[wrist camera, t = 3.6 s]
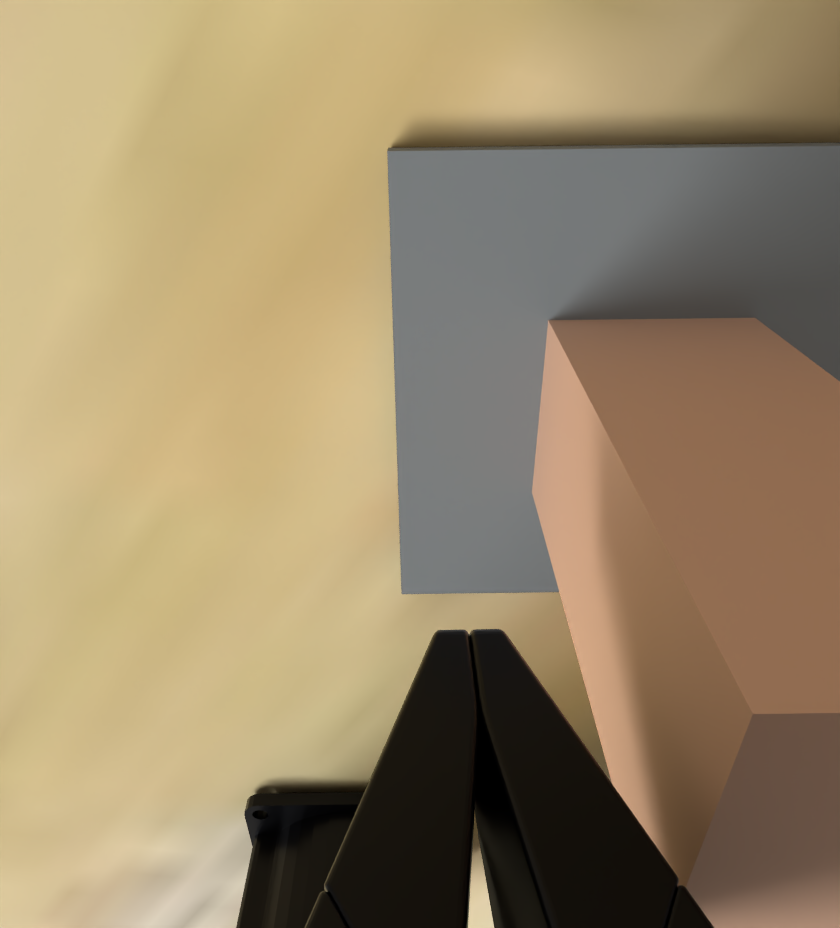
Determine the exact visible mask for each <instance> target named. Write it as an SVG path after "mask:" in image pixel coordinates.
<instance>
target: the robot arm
mask: <svg viewBox="0 0 840 928" xmlns="http://www.w3.org/2000/svg"><path fill="white" fill-rule="evenodd" d="M474 810H475V815H476V822H477V829H478V836H479V842H480V848H481V853H482V859H483V865H484V870H485V876H486V882H487V888H488V893H489V899H490V905H491V911H492V916H493V922H494V928H714V927H713V925H712V924H711V922H710V921H709V920H708V918H707V917H706V915H705V914H704V913H703V911H702V910H701V908H700V907H699V905H698V904H697V903H696V901H695V900H694V898H693V897H692V895H691V894H690V893H689V891H688V890H687V888H686V887H685V886H683V885H679V886H678V883H679V879H678V876H677V875H676V873H675V872H674V871H673V869H672V868H671V866H670V865H669V864H668V862H667V861H666V859H665V858H664V856H663V855H662V854H661V852H660V851H659V849H658V848H657V847H656V845H655V844H654V842H653V841H652V840H651V838H650V837H649V835H648V834H647V832H646V831H645V830H644V828H643V827H642V825H641V824H640V823H639V821H638V820H637V818H636V817H635V816H634V814H633V813H632V811H631V810H630V808H629V807H628V806H627V804H626V803H625V801H624V800H623V799H622V797H621V796H620V794H619V793H618V792H617V790H616V789H615V787H614V786H613V784H612V783H611V782H610V780H609V779H608V777H607V776H606V775H605V773H604V772H603V770H602V769H601V768H600V766H599V765H598V763H597V762H596V760H595V759H594V758H593V756H592V755H591V753H590V752H589V751H588V749H587V748H586V746H585V745H584V744H583V742H582V741H581V739H580V738H579V736H578V735H577V734H576V732H575V731H574V729H573V728H572V727H571V725H570V724H569V722H568V721H567V720H566V718H565V717H564V715H563V714H562V712H561V711H560V710H559V708H558V707H557V705H556V704H555V703H554V701H553V700H552V698H551V697H550V695H549V694H548V693H547V691H546V690H545V688H544V687H543V686H542V684H541V683H540V681H539V680H538V679H537V677H536V676H535V674H534V673H533V671H532V670H531V669H530V667H529V666H528V664H527V663H526V662H525V660H524V659H523V657H522V656H521V655H520V653H519V652H518V650H517V649H516V647H515V646H514V645H513V643H512V642H511V640H510V639H509V638H508V636H507V635H506V634H505V632H503V631H502V630H500V629H481V630H473V631H471V632H470V634H468V632H467V631H465V630H438V631H437V632H435V634H434V635H433V637H432V639H431V642H430V644H429V646H428V648H427V651H426V653H425V655H424V658H423V660H422V662H421V664H420V667H419V669H418V671H417V674H416V676H415V678H414V680H413V683H412V685H411V687H410V690H409V692H408V694H407V696H406V699H405V701H404V703H403V705H402V708H401V710H400V712H399V715H398V717H397V719H396V721H395V724H394V726H393V728H392V731H391V733H390V735H389V737H388V740H387V742H386V744H385V747H384V749H383V751H382V753H381V756H380V758H379V760H378V762H377V765H376V767H375V769H374V772H373V774H372V776H371V778H370V781H369V783H368V785H367V788H366V790H365V792H351V793H281V794H255V795H253V796H250V797H249V799H248V800H247V804H246V809H245V819H246V823H247V826H248V830H249V834H250V838H251V842H252V846H253V848H252V853H251V858H250V863H249V868H248V873H247V878H246V883H245V888H244V893H243V897H242V902H241V907H240V912H239V917H238V922H237V927H236V928H468V917H469V899H470V882H471V865H472V847H473V829H474ZM677 886H678V887H677Z"/></svg>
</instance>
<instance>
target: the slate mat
mask: <svg viewBox="0 0 840 928" xmlns="http://www.w3.org/2000/svg"><path fill="white" fill-rule="evenodd" d="M387 152H388V183H389V214H390V246H391V277H392V308H393V339H394V370H395V402H396V433H397V464H398V495H399V526H400V558H401V589H402V594H444V593H519V592H559V589H558V585H557V582H556V578H555V574H554V571H553V567H552V563H551V560H550V556H549V553H548V549H547V545H546V542H545V538H544V534H543V531H542V527H541V523H540V520H539V516H538V513H537V509H536V505H535V502H534V498H533V494H532V486H533V475H534V465H535V454H536V444H537V433H538V423H539V412H540V402H541V391H542V381H543V370H544V360H545V349H546V339H547V328H548V320H610V319H692V318H756V319H757V320H759V321H760V322H761V323H763V324H764V325H765V326H767V327H768V328H769V329H771V330H772V331H773V332H775V333H776V334H777V335H779V336H780V337H781V338H783V339H784V340H785V341H787V342H788V343H789V344H791V345H792V346H793V347H795V348H796V349H797V350H799V351H800V352H801V353H802V354H804V355H805V356H806V357H808V358H809V359H810V360H812V361H813V362H814V363H816V364H817V365H818V366H820V367H821V368H822V369H824V370H825V371H826V372H828V373H829V374H830V375H832V376H833V377H834V378H836V379H837V380H838V381H840V143H763V144H676V145H590V146H503V147H417V148H388V151H387Z"/></svg>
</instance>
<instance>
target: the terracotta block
mask: <svg viewBox="0 0 840 928" xmlns="http://www.w3.org/2000/svg"><path fill="white" fill-rule="evenodd" d="M532 494H533V498H534V502H535V505H536V509H537V513H538V516H539V520H540V523H541V527H542V531H543V534H544V538H545V542H546V545H547V549H548V553H549V556H550V560H551V563H552V567H553V571H554V574H555V578H556V582H557V585H558V589H559V593H560V596H561V600H562V603H563V607H564V611H565V614H566V618H567V622H568V625H569V629H570V633H571V636H572V640H573V643H574V647H575V651H576V654H577V658H578V662H579V665H580V669H581V673H582V676H583V680H584V683H585V687H586V691H587V694H588V698H589V702H590V705H591V709H592V713H593V716H594V720H595V723H596V727H597V731H598V734H599V738H600V742H601V745H602V749H603V753H604V756H605V760H606V763H607V767H608V771H609V774H610V778H611V782H612V784H613V786H614V787H615V789H616V790H617V792H618V793H619V794H620V796H621V797H622V799H623V800H624V801H625V803H626V804H627V806H628V807H629V808H630V810H631V811H632V813H633V814H634V816H635V817H636V818H637V820H638V821H639V823H640V824H641V825H642V827H643V828H644V830H645V831H646V832H647V834H648V835H649V837H650V838H651V840H652V841H653V842H654V844H655V845H656V847H657V848H658V849H659V851H660V852H661V854H662V855H663V856H664V858H665V859H666V861H667V862H668V864H669V865H670V866H671V868H672V869H673V871H674V872H675V873H676V875H677V876H678V879H679V883H678V886H679V885H683V886H685V887H686V888H687V890H688V891H689V893H690V894H691V895H692V897H693V898H694V900H695V901H696V903H697V904H698V905H699V907H700V908H701V910H702V911H703V913H704V914H705V915H706V917H707V918H708V920H709V921H710V922H711V924H712V925H713V927H714V928H840V381H838V380H837V379H836V378H834V377H833V376H832V375H830V374H829V373H828V372H826V371H825V370H824V369H822V368H821V367H820V366H818V365H817V364H816V363H814V362H813V361H812V360H810V359H809V358H808V357H806V356H805V355H804V354H802V353H801V352H800V351H799V350H797V349H796V348H795V347H793V346H792V345H791V344H789V343H788V342H787V341H785V340H784V339H783V338H781V337H780V336H779V335H777V334H776V333H775V332H773V331H772V330H771V329H769V328H768V327H767V326H765V325H764V324H763V323H761V322H760V321H759V320H757V319H756V318H692V319H610V320H548V328H547V339H546V349H545V360H544V370H543V381H542V391H541V402H540V412H539V423H538V433H537V444H536V454H535V465H534V475H533V486H532ZM678 886H677V887H678Z"/></svg>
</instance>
